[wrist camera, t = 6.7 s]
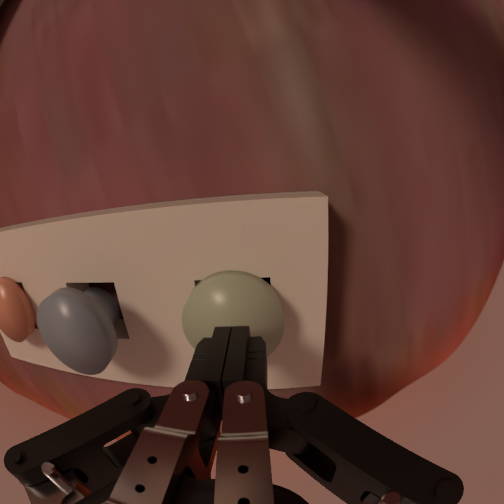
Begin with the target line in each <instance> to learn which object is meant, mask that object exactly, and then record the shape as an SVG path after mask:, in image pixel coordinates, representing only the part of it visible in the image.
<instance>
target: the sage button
mask: <svg viewBox="0 0 504 504" xmlns="http://www.w3.org/2000/svg"><path fill="white" fill-rule="evenodd" d="M219 326H249V327H250V336H251V337H255V336H261V337H262V338H263V340H264V341H265V343H266V354H267V357H268V356H269V355H270V354H271V353H273V352H274V351H275V349H276V348H277V347H278V345H279V344H280V342H281V339H282V337H283V333H284V317H283V308H282V304H281V301H280V298H279V296H278V295H277V293H276V291H275V290H274V289H273V288H272V287H271V286H270V285H269V284H268V283H267V282H266V281H264V280H263V279H261V278H260V277H258V276H256V275H253V274H251V273H248V272H244V271H237V270H228V271H221V272H217V273H214V274H211V275H209V276H207V277H206V278H204V279H203V280H201V281H200V282H199V283H198V284H197V285H196V286H195V288H194V289H193V291H192V292H191V294H190V296H189V298H188V300H187V302H186V304H185V306H184V309H183V312H182V327H183V331H184V334H185V336H186V338H187V340H188V341H189V343H190V344H191V345H192V347H193V348H194V349H196V346H197V344H198V343H199V342H200V341H201V340H202V339H203V338H212V335H213V331H214V328H215V327H219Z"/></svg>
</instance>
